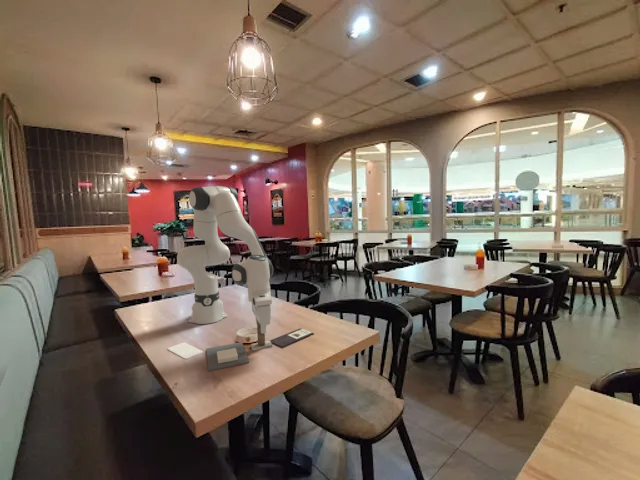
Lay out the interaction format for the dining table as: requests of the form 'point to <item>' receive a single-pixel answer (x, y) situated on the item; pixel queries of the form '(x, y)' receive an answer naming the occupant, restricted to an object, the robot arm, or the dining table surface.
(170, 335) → the dining table surface
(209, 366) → the mat
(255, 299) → the robot arm
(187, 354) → the white flat slab
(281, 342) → the chocolate bar
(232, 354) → the tile
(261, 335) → the stamp
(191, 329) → the dining table surface
